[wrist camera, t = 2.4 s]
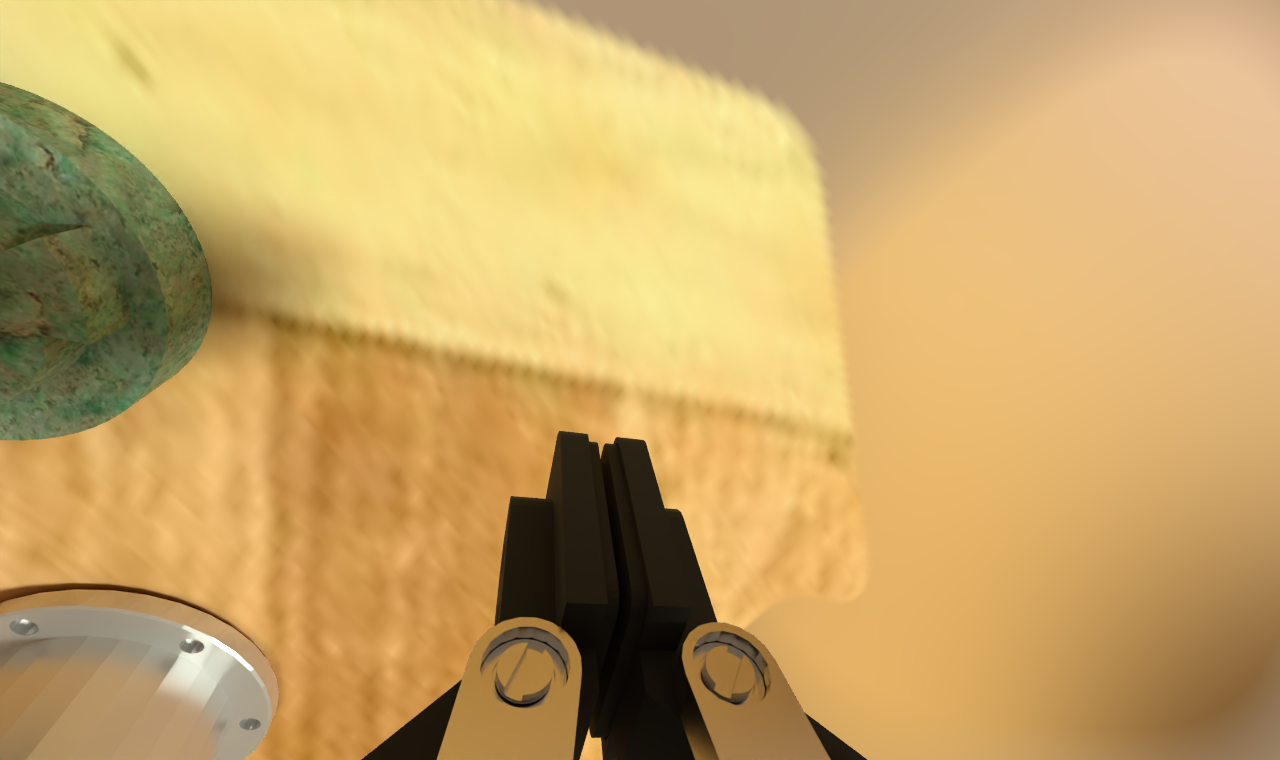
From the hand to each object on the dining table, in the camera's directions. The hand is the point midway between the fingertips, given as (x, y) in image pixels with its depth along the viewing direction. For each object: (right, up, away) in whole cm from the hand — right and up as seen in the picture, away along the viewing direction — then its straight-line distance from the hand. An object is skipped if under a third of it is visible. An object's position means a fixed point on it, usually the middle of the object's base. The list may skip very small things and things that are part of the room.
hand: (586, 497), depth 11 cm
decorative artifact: (-18, +6, +6) cm, 20 cm away
